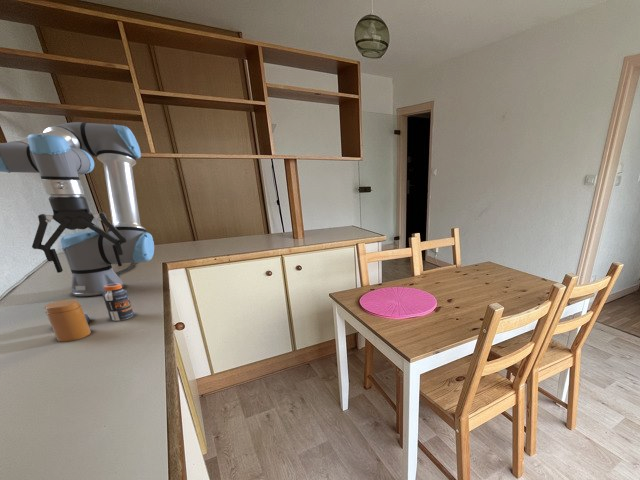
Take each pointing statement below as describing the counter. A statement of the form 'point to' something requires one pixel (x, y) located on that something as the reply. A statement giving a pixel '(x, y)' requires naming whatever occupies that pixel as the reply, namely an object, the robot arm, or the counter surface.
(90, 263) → the robot arm
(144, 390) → the counter surface
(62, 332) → the jar
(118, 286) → the pill bottle
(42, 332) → the counter surface
